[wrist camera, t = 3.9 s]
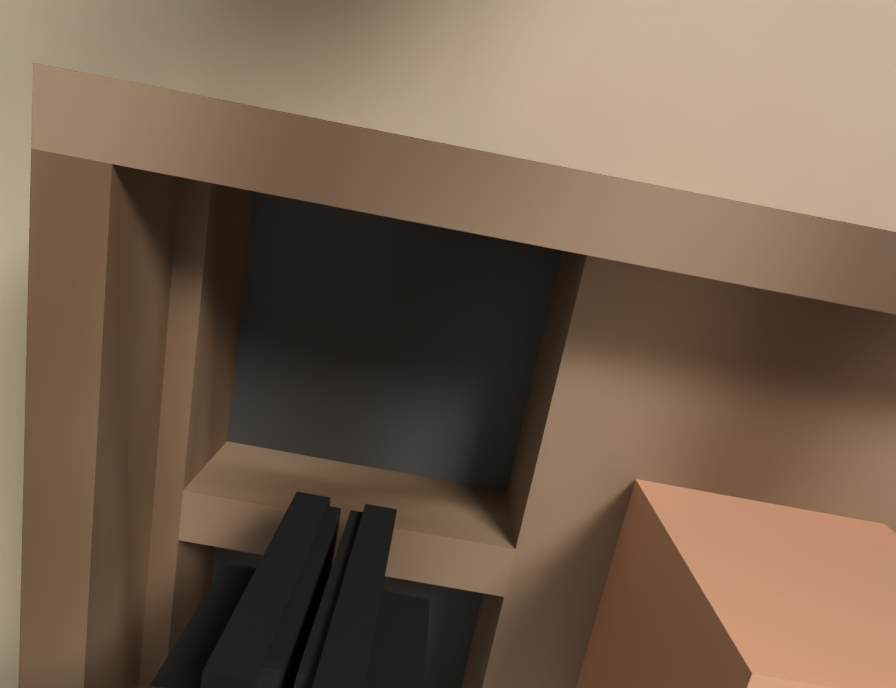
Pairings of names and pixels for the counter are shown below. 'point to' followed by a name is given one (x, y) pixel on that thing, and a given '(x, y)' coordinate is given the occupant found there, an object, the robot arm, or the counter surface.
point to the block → (743, 597)
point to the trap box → (406, 371)
